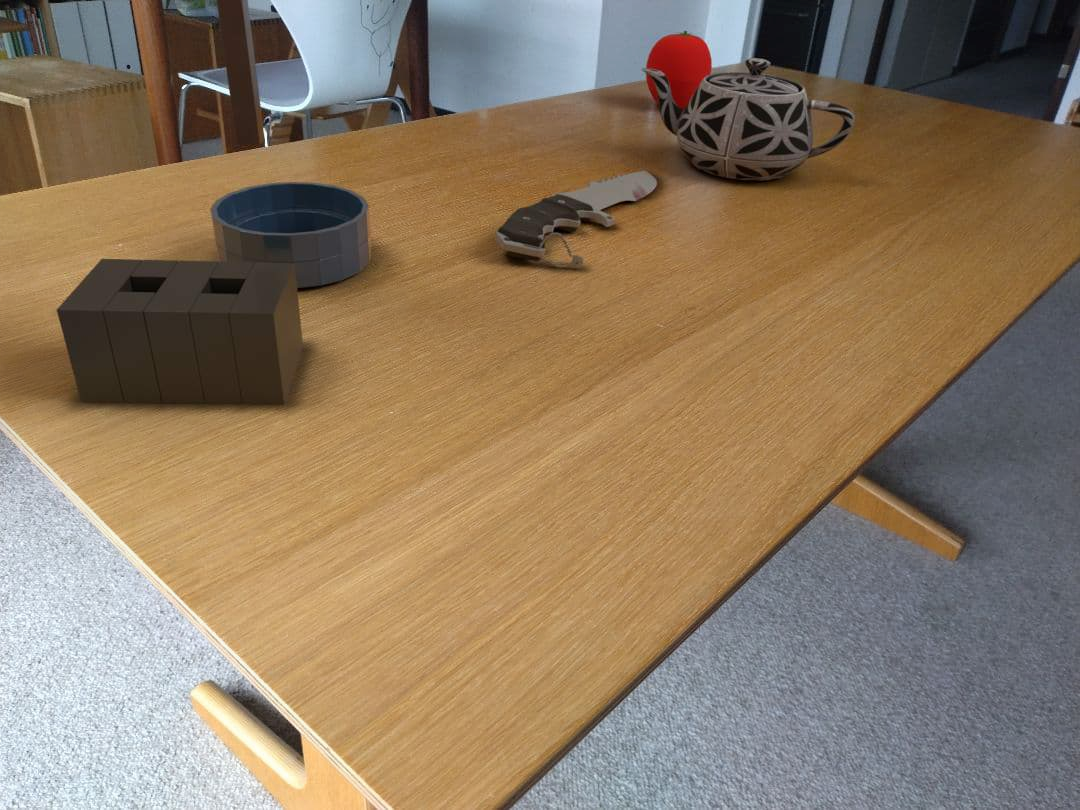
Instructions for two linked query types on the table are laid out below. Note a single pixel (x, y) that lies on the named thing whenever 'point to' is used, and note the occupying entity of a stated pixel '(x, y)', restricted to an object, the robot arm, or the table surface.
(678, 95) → the tomato
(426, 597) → the table surface
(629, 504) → the table surface
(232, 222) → the bowl
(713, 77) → the teapot
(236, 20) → the stick
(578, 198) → the knife
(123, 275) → the holder
